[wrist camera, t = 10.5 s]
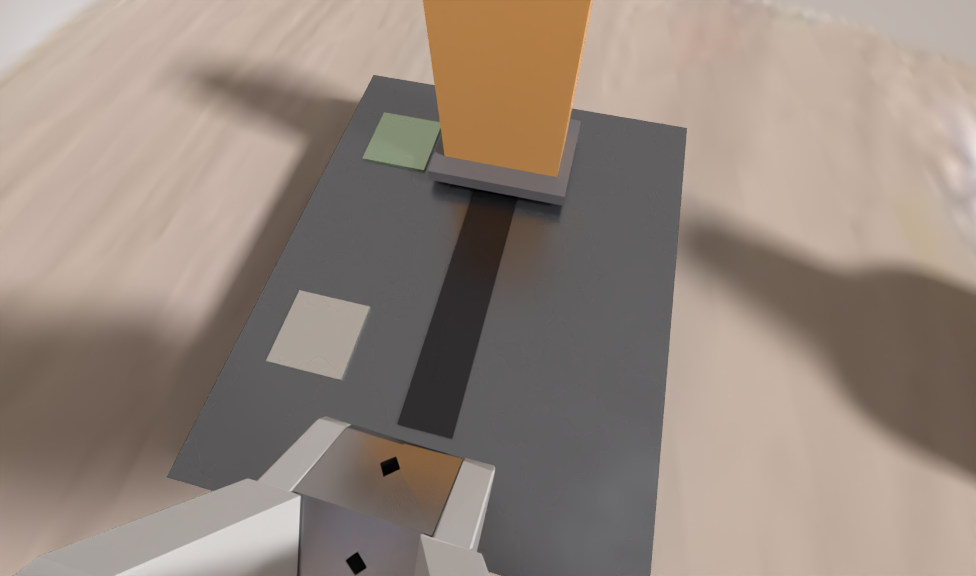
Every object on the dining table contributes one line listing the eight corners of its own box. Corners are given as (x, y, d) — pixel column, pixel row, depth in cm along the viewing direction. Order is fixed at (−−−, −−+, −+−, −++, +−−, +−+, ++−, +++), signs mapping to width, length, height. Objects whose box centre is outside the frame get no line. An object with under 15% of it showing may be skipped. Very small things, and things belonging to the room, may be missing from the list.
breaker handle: (562, 205, 20) (632, -99, 10) (428, 179, 20) (369, -130, 11) (578, 130, 21) (651, -189, 12) (456, 109, 22) (426, -209, 12)
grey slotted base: (621, 600, 16) (647, 619, 13) (215, 482, 18) (164, 476, 15) (665, 169, 25) (687, 126, 22) (385, 119, 27) (373, 72, 24)
